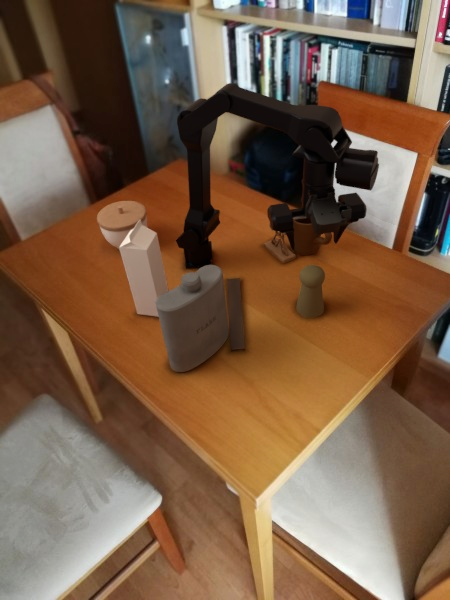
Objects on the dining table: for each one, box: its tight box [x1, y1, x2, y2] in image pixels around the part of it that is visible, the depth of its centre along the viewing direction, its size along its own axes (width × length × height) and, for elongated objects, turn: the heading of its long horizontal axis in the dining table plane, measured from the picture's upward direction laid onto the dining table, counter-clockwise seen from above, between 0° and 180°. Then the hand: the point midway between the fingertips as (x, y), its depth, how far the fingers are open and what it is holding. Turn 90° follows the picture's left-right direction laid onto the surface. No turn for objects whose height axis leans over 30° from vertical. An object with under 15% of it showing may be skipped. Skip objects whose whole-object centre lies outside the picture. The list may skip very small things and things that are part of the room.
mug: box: [289, 218, 333, 256], centre depth 116 cm, size 12×8×9 cm, turn 39°
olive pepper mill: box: [295, 264, 326, 319], centre depth 101 cm, size 6×6×11 cm
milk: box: [118, 219, 170, 318], centre depth 101 cm, size 6×6×22 cm
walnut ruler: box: [226, 277, 246, 352], centre depth 105 cm, size 3×22×1 cm, turn 2°
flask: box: [155, 264, 230, 373], centre depth 91 cm, size 15×6×20 cm, turn 136°
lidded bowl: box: [96, 200, 149, 250], centre depth 124 cm, size 13×13×11 cm
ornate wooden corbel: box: [263, 223, 297, 264], centre depth 116 cm, size 9×4×12 cm, turn 30°
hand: (313, 245), depth 100 cm, fingers open, 9 cm apart
